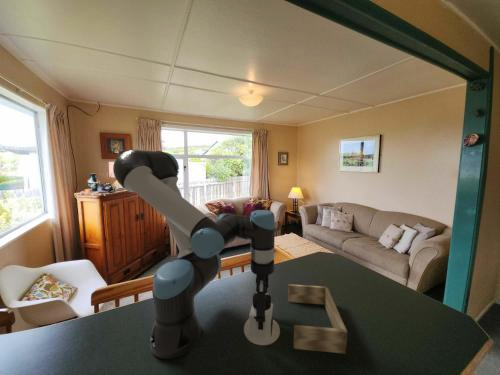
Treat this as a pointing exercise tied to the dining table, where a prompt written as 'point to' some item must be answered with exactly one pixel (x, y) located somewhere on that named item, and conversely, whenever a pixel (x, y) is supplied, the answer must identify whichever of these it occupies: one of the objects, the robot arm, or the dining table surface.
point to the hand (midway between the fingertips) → (261, 319)
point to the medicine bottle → (267, 313)
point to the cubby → (318, 336)
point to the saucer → (262, 340)
